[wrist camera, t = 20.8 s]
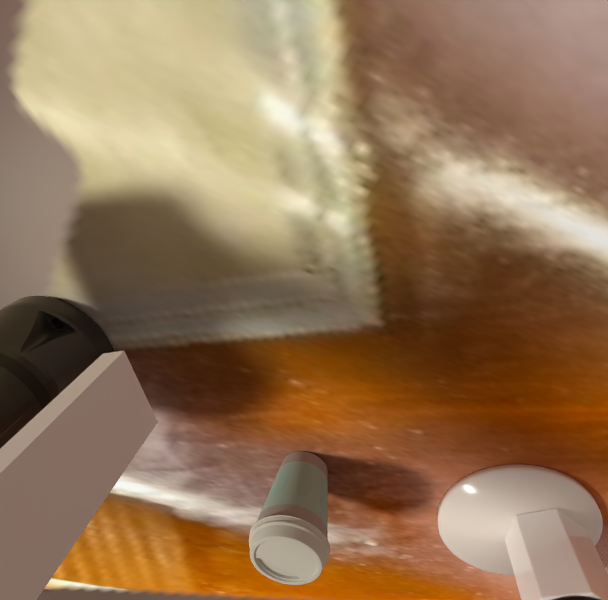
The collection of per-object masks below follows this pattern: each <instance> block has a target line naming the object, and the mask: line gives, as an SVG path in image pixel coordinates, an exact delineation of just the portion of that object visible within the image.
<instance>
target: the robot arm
mask: <svg viewBox="0 0 608 600" xmlns="http://www.w3.org/2000/svg"><path fill="white" fill-rule="evenodd" d="M157 422H158V421H157V419H156V417H155V415H154V412H153V410H152V408H151V406H150V404H149V402H148V400H147V398H146V396H145V393H144V391H143V389H142V387H141V385H140V383H139V381H138V379H137V377H136V374H135V372H134V370H133V368H132V366H131V364H130V362H129V360H128V357H127V355H126V353H125V351H118V352H113V349H112V347H111V345H110V343H109V341H108V339H107V338H106V336H105V335H104V333H103V332H102V331H101V329H100V328H99V327H98V326H97V325H96V324H95V323H94V322H93V321H92V320H91V319H90V318H89V317H88V316H87V315H85V314H84V313H83V312H81V311H80V310H78V309H77V308H75V307H73V306H72V305H70V304H68V303H65V302H63V301H61V300H58V299H54V298H50V297H45V296H29V297H24V298H21V299H19V300H17V301H15V302H13V303H11V304H10V305H8V306H6V307H4V308H2V309H1V310H0V600H36V599H37V598H38V596H39V595H40V593H41V592H42V591H43V589H44V588H45V586H46V585H47V583H48V582H49V580H50V579H51V577H52V576H53V574H54V573H55V572H56V570H57V569H58V567H59V566H60V564H61V563H62V561H63V560H64V558H65V557H66V555H67V554H68V553H69V551H70V550H71V548H72V547H73V545H74V544H75V542H76V541H77V539H78V538H79V536H80V535H81V533H82V532H83V531H84V529H85V528H86V526H87V525H88V523H89V522H90V520H91V519H92V517H93V516H94V514H95V513H96V512H97V510H98V509H99V507H100V506H101V504H102V503H103V501H104V500H105V498H106V497H107V495H108V494H109V492H110V491H111V490H112V488H113V487H114V485H115V484H116V482H117V481H118V479H119V478H120V476H121V475H122V473H123V472H124V471H125V469H126V468H127V466H128V465H129V463H130V462H131V460H132V459H133V457H134V456H135V454H136V453H137V451H138V450H139V449H140V447H141V446H142V444H143V443H144V441H145V440H146V438H147V437H148V435H149V434H150V432H151V431H152V430H153V428H154V427H155V425H156V424H157Z"/></svg>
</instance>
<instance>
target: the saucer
mask: <svg viewBox="0 0 608 600" xmlns="http://www.w3.org/2000/svg"><path fill="white" fill-rule="evenodd" d="M549 509H558V510H560V511H561V512H563V513H564V514H566V515H567V516H569V517H570V518H572V519H573V520H575V521H576V522H578V523H579V524H581V525H582V526H584V527H585V528H586V529H587V531H588V533H589V535H590V537H591V539H592V541H593V544H594V546H596V544H597V543H598V541H599V539H600V537H601V534H602V529H603V518H602V515H601V511H600V509H599V507H598V505H597V504H596V502H595V500H594V498H593V496H592V495H591V494H590V492H589V491H588V490H587V489H586V488H585V487H584V486H583V485H582V484H580V483H579V482H578V481H576V480H575V479H573V478H571V477H569V476H568V475H566V474H563V473H561V472H558V471H556V470H553V469H549V468H546V467H540V466H535V465H524V464H510V465H500V466H494V467H489V468H486V469H482V470H479V471H477V472H474V473H472V474H469V475H467V476H466V477H464V478H462V479H460V480H459V481H458V482H456V483H455V484H454V485H453V486H451V487H450V488H449V489H448V491H447V492H446V493H445V494H444V496H443V497H442V499H441V501H440V504H439V507H438V512H437V520H438V528H439V532H440V535H441V538H442V540H443V542H444V543H445V545H446V546H447V547H448V548H449V549H450V551H451V552H452V553H453V554H455V555H456V556H457V557H458V558H460V559H461V560H463V561H464V562H466V563H468V564H470V565H472V566H474V567H477V568H479V569H482V570H485V571H488V572H492V573H497V574H502V575H510V576H515V575H514V571H513V568H512V564H511V561H510V557H509V554H508V550H507V547H506V543H505V539H506V536H507V534H508V531H509V529H510V527H511V524H512V522H513V520H514V517H515V515H519V514H525V513H531V512H537V511H543V510H549Z"/></svg>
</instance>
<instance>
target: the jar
mask: <svg viewBox="0 0 608 600" xmlns="http://www.w3.org/2000/svg"><path fill="white" fill-rule="evenodd" d="M505 543H506V547H507V550H508V554H509V557H510V561H511V564H512V568H513V571H514V575H515V579H516V582H517V586H518V589H519V593H520V596H521V600H608V573H607V571H606V569H605V567H604V564H603V562H602V560H601V558H600V556H599V554H598V552H597V550H596V548H595V546H594V544H593V541H592V539H591V537H590V535H589V533H588V531H587V529H586V528H585V527H584V526H582V525H581V524H579V523H578V522H576V521H575V520H573V519H572V518H570V517H569V516H567V515H566V514H564V513H563V512H561V511H560V510H558V509H549V510H543V511H537V512H531V513H525V514H519V515H515V517H514V520H513V522H512V524H511V527H510V529H509V531H508V534H507V536H506V539H505Z"/></svg>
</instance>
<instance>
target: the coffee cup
mask: <svg viewBox="0 0 608 600" xmlns="http://www.w3.org/2000/svg"><path fill="white" fill-rule="evenodd" d="M327 516H328V470H327V466H326V464H325V463H324V461H323V460H322V459H321V458H319V457H318V456H316V455H314V454H312V453H309V452H303V451H298V452H293V453H291V454H289V455H287V456H286V457H285V458H284V460H283V462H282V464H281V467H280V469H279V471H278V473H277V476H276V478H275V480H274V483H273V485H272V488H271V490H270V492H269V495H268V497H267V499H266V502H265V504H264V506H263V509H262V511H261V513H260V516H259V518H258V521H257V522H256V523H255V524H254V525H253V527H252V528H251V531H250V538H249V547H250V558H251V561H252V563H253V565H254V566H255V568H256V569H257V570H258V571H259V572H260V573H262V574H263V575H265V576H266V577H268V578H270V579H272V580H274V581H277V582H280V583H284V584H291V585H300V584H306V583H309V582H312V581H314V580H315V579H316V578H318V577H319V575H320V574H321V572H322V569H323V567H324V566H325V565H326V563H327V560H328V557H329V554H330V545H329V542H328V540H327Z"/></svg>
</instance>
